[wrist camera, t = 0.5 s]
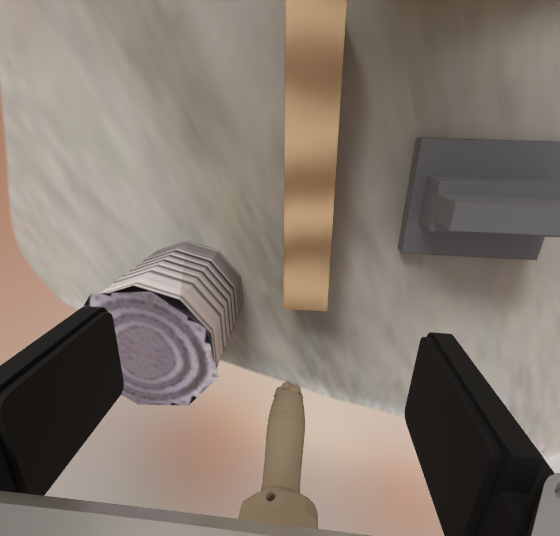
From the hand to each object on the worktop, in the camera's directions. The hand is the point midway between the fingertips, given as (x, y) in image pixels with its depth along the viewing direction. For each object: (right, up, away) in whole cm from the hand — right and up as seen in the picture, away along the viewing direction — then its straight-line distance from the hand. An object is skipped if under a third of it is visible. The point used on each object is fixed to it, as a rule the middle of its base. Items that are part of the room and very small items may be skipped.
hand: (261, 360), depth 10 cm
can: (-9, 0, +26) cm, 27 cm away
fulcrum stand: (+18, +9, +20) cm, 28 cm away
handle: (+2, -12, +30) cm, 32 cm away
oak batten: (+3, +12, +20) cm, 24 cm away
